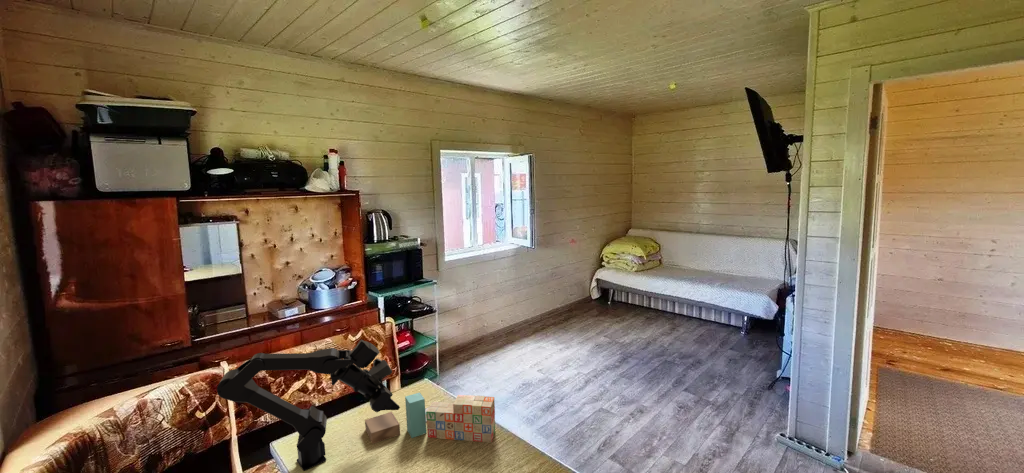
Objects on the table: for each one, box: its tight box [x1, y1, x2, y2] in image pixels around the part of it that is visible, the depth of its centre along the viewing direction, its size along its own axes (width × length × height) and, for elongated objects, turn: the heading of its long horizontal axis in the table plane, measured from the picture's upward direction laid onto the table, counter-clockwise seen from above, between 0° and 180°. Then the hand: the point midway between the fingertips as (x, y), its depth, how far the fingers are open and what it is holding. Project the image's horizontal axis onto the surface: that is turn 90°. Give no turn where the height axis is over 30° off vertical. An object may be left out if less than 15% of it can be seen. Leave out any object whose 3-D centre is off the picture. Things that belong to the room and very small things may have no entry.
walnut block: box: [364, 411, 401, 445], centre depth 141 cm, size 9×9×4 cm
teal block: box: [404, 392, 427, 439], centre depth 140 cm, size 5×5×12 cm
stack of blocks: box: [426, 394, 496, 443], centre depth 138 cm, size 21×6×12 cm, turn 81°
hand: (395, 401), depth 136 cm, fingers open, 9 cm apart
